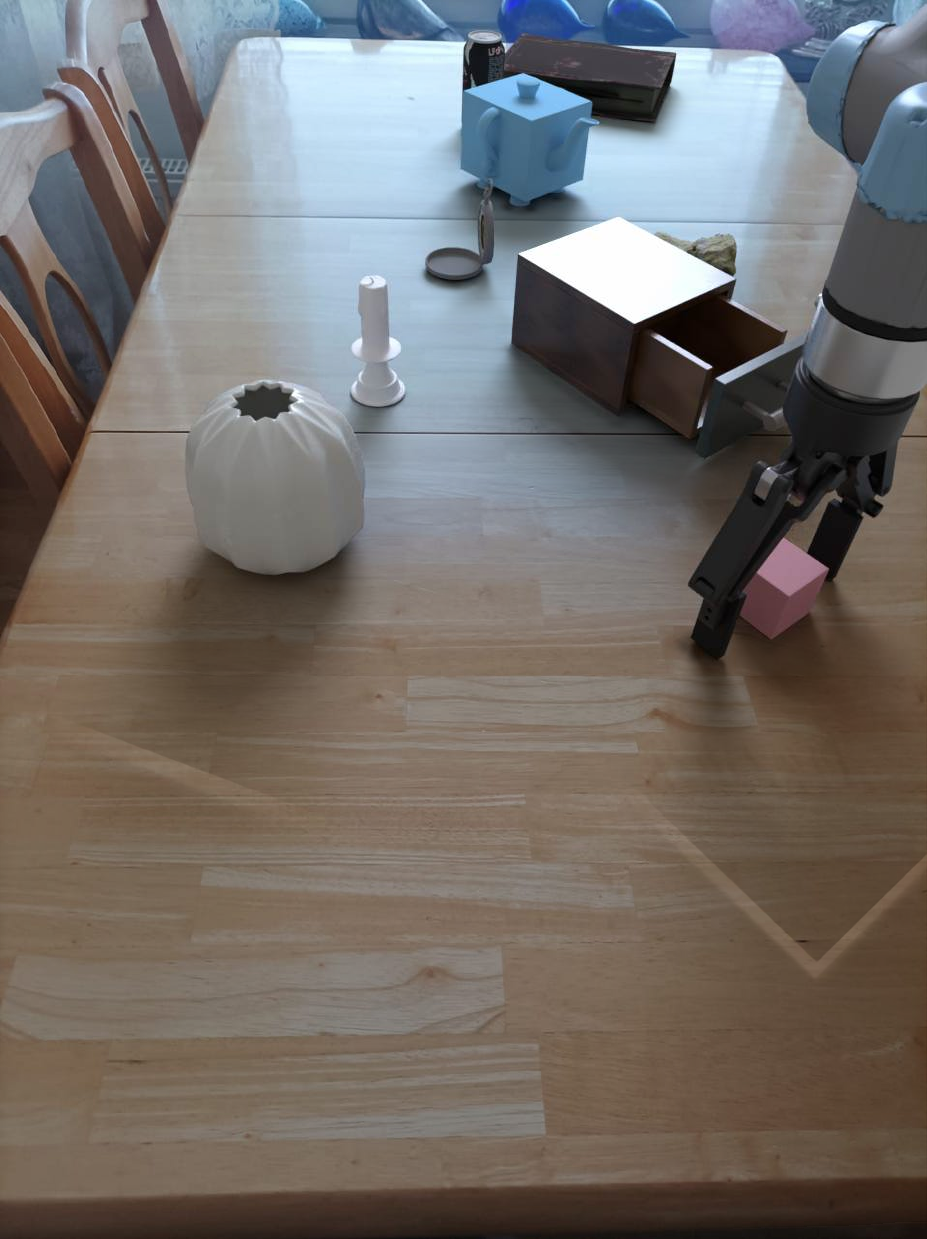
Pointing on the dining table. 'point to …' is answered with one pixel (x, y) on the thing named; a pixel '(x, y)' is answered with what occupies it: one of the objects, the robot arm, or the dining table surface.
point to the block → (782, 589)
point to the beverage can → (482, 59)
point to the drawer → (714, 372)
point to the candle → (376, 348)
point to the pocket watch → (465, 261)
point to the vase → (274, 478)
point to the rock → (709, 250)
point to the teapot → (524, 136)
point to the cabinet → (603, 302)
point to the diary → (597, 73)
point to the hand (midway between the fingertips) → (765, 607)
